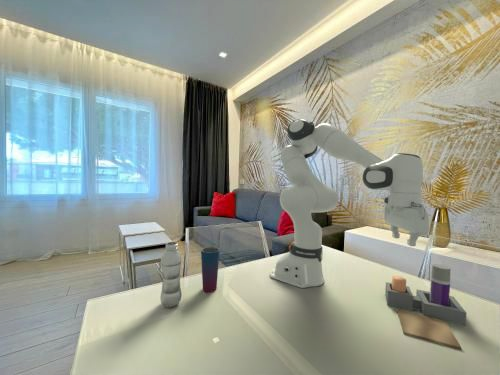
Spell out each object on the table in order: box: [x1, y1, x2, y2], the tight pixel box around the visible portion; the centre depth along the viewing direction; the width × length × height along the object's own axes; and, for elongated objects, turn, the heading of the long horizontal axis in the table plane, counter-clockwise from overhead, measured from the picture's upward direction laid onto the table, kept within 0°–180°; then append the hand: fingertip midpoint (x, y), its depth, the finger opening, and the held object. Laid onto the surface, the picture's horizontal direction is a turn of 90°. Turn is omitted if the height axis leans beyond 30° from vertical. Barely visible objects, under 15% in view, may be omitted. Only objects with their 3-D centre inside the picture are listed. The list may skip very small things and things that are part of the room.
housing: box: [384, 281, 467, 327], centre depth 74 cm, size 20×10×5 cm, turn 64°
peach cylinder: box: [391, 275, 407, 293], centre depth 76 cm, size 4×4×8 cm
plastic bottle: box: [160, 241, 183, 308], centre depth 72 cm, size 6×7×20 cm
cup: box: [200, 246, 221, 294], centre depth 82 cm, size 7×7×15 cm
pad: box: [396, 308, 462, 351], centre depth 63 cm, size 12×12×1 cm
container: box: [429, 263, 451, 307], centre depth 71 cm, size 5×5×15 cm
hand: (403, 241), depth 75 cm, fingers open, 8 cm apart
